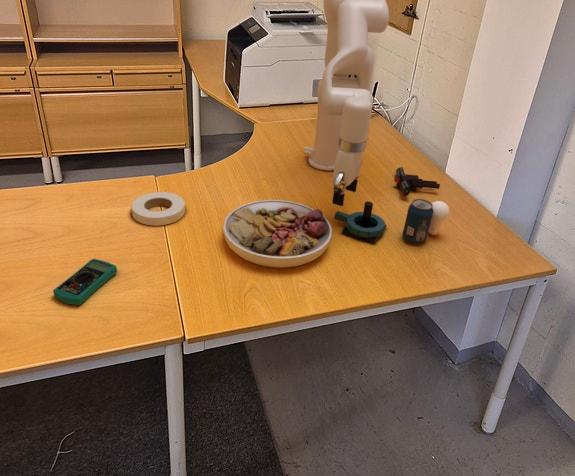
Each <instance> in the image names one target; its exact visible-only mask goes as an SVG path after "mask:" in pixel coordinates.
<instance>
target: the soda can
mask: <svg viewBox="0 0 575 476" xmlns="http://www.w3.org/2000/svg"><path fill="white" fill-rule="evenodd" d="M432 207H433V205H432V202H430V201H429V200H426V199H424V198H423V199H422V198H416V199H413V200H412V201H411V203H410V204H409V206H408V208H407V213H406V217H405V222H404V226H403V229H402V237H403V239H404V241H405V242H406V243H407V244H409V245H413V246H420V245H422V244H424V243H425V242H426V241H427V239H428V235H429V228H430V223H431V220H432V216H433V208H432Z"/></svg>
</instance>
